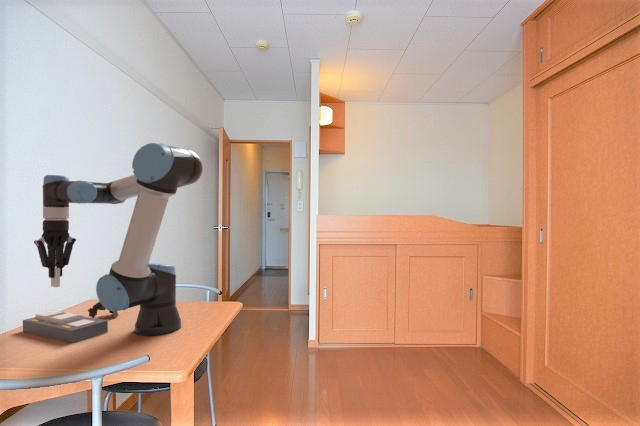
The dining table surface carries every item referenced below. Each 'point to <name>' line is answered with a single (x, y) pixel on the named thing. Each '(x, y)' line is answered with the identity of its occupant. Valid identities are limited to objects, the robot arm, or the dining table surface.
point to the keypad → (65, 329)
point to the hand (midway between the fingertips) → (55, 286)
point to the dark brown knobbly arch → (99, 307)
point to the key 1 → (48, 315)
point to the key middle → (64, 318)
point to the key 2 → (80, 323)
